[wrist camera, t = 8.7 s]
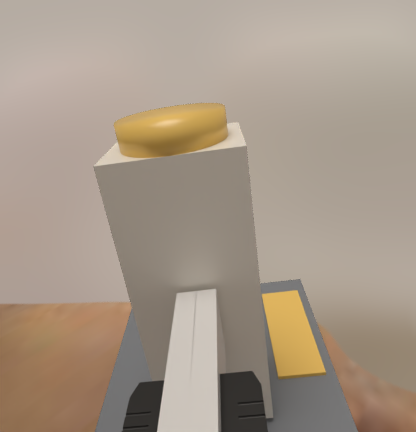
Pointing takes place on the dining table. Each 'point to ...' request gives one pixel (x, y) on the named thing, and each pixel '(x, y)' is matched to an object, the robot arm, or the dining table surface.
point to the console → (277, 364)
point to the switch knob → (186, 228)
